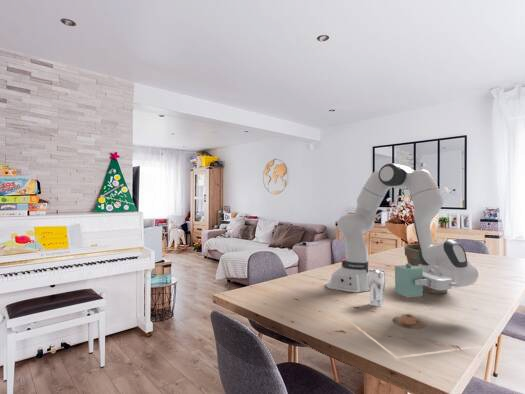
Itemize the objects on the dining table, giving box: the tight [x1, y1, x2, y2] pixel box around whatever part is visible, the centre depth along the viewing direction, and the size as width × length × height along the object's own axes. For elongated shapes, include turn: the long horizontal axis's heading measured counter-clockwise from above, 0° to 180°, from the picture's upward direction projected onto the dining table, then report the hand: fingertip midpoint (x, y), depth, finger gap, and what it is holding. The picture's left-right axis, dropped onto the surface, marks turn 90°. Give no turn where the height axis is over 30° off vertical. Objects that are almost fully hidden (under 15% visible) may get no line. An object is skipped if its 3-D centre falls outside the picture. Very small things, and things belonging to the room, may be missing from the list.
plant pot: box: [404, 243, 448, 295], centre depth 156 cm, size 25×25×22 cm
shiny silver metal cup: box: [368, 268, 386, 307], centre depth 134 cm, size 7×7×15 cm
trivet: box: [392, 316, 426, 330], centre depth 113 cm, size 11×11×1 cm
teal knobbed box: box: [394, 262, 424, 298], centre depth 114 cm, size 7×7×11 cm
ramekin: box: [400, 313, 417, 325], centre depth 113 cm, size 3×3×2 cm
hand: (406, 279), depth 113 cm, fingers closed on teal knobbed box, 7 cm apart
